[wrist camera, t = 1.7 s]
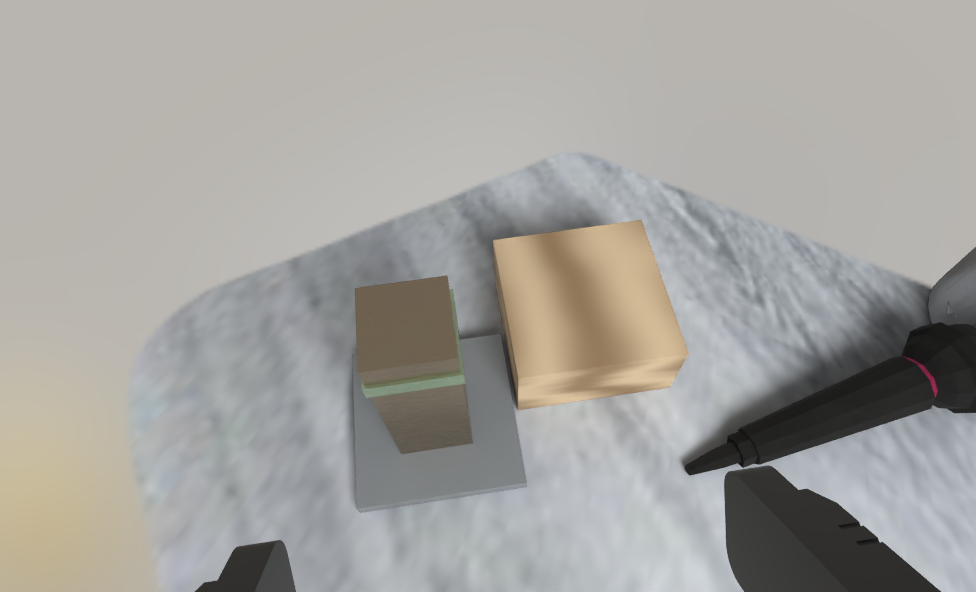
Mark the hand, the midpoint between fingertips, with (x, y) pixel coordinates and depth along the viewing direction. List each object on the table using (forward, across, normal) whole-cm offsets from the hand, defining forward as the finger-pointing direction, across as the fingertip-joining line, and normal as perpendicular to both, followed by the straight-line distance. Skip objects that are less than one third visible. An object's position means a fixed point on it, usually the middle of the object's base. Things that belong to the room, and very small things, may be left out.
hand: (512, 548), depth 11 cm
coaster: (+26, +3, +9) cm, 28 cm away
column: (+26, +3, +8) cm, 27 cm away
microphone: (+24, -22, +11) cm, 35 cm away
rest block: (+30, -8, +6) cm, 31 cm away
